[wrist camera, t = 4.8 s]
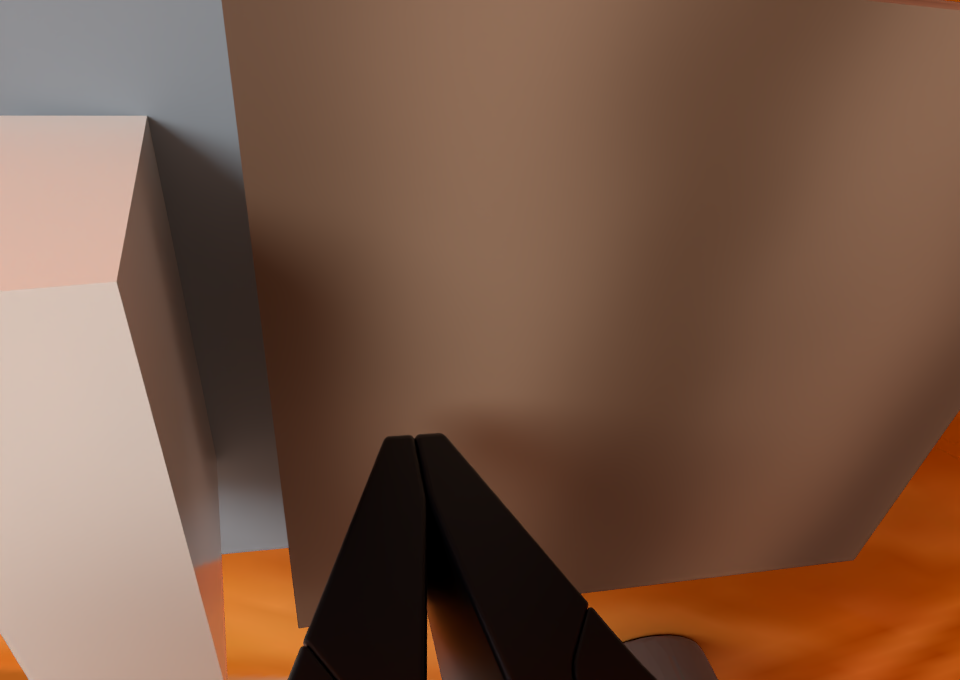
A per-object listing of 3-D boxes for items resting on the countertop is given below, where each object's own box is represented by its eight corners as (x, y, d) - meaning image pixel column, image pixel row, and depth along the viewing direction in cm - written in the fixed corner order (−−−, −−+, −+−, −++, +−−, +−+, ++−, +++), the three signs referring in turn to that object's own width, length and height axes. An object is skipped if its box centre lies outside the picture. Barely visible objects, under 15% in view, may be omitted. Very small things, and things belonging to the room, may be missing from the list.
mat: (236, -123, 8) (229, -124, 8) (301, 526, 15) (300, 546, 15) (-641, -232, 6) (-722, -244, 6) (-94, 561, 13) (-110, 585, 13)
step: (1030, 10, 11) (1221, 37, 9) (783, 472, 18) (853, 559, 15) (248, -75, 8) (212, -69, 6) (304, 512, 15) (298, 628, 13)
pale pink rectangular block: (116, 281, 5) (-201, 307, 4) (228, 699, 9) (70, 747, 8) (147, 115, 9) (-21, 115, 8) (216, 460, 13) (107, 480, 12)
